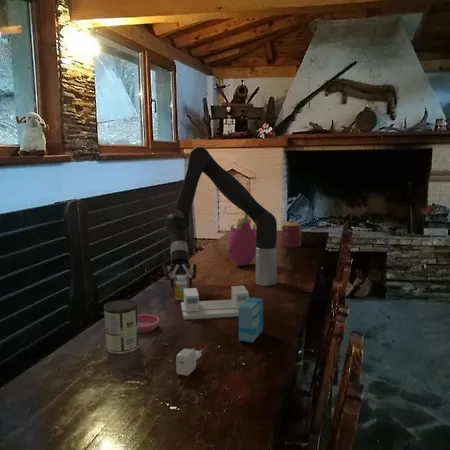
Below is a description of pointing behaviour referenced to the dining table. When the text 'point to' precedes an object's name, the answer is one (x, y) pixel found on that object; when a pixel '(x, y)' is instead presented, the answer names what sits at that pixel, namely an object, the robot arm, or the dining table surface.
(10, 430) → the dining table surface
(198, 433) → the dining table surface
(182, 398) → the dining table surface
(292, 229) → the canister
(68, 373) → the dining table surface
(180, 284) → the supplement bottle
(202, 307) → the rail panel
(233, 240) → the pink dragon fruit
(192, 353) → the power adapter
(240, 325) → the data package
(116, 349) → the coffee can
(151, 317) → the saucer
